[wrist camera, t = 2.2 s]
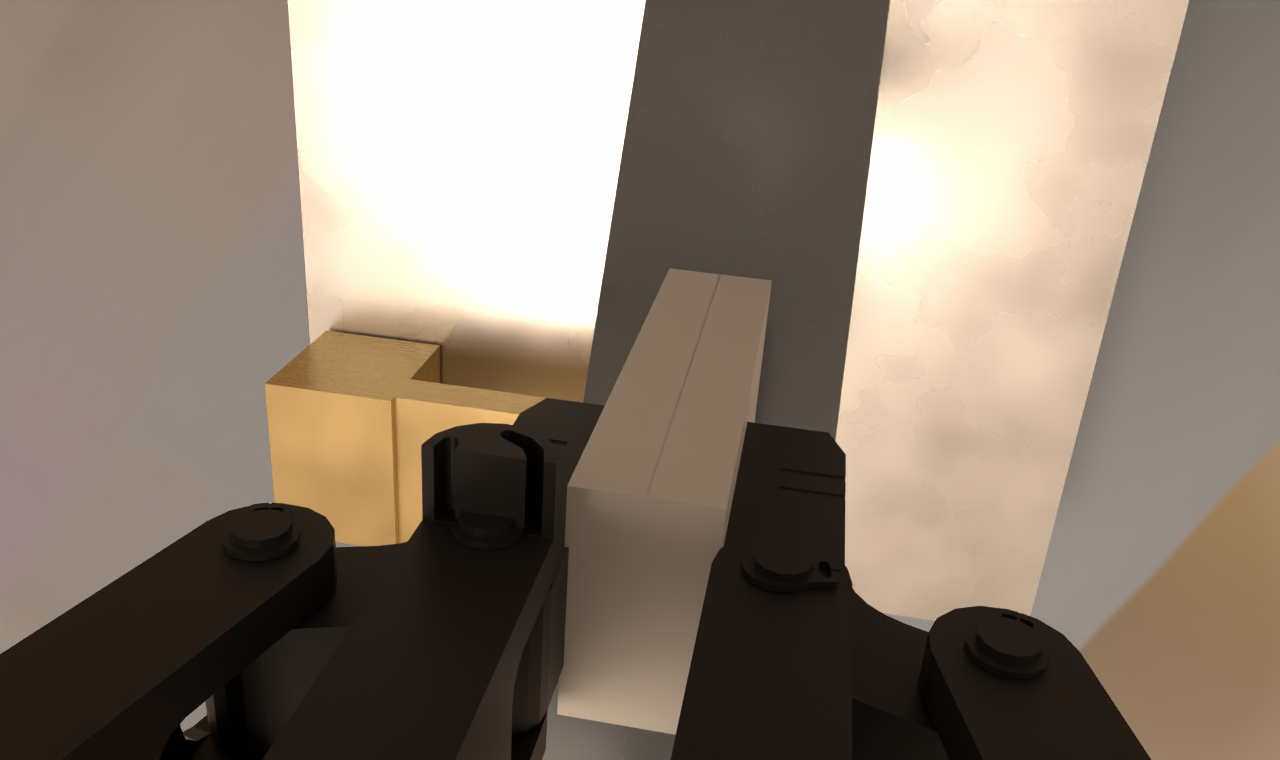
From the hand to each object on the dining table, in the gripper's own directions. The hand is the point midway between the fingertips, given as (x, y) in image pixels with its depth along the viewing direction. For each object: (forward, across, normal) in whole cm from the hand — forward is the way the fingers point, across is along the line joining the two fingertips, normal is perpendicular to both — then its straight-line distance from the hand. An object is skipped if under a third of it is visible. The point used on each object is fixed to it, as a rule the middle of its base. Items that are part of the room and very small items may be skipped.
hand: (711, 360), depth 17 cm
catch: (+9, -6, -7) cm, 13 cm away
